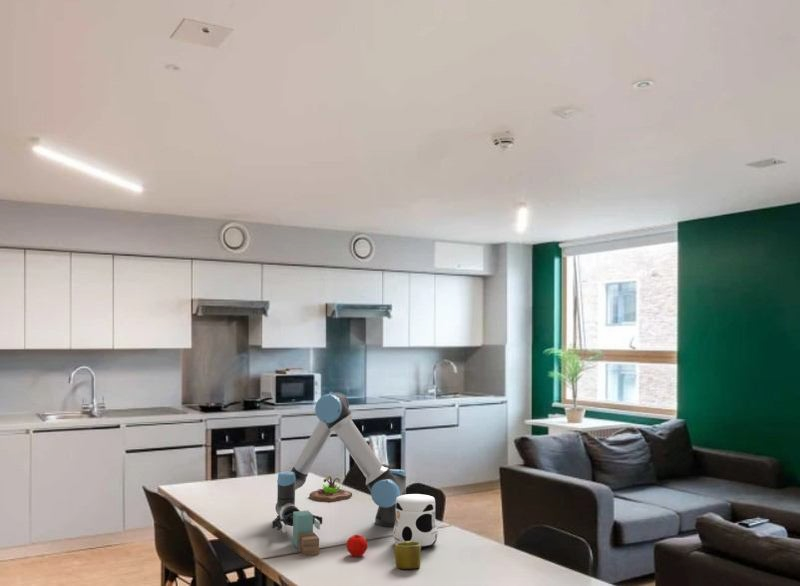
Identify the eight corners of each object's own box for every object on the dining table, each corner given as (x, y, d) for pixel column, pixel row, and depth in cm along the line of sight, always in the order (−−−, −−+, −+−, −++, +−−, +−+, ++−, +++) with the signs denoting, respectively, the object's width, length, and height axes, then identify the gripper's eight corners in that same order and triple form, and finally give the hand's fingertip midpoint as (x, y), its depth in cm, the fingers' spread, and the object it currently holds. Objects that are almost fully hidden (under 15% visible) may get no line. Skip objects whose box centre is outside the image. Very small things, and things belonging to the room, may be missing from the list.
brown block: (319, 554, 262) (319, 538, 262) (303, 556, 260) (303, 539, 260) (313, 547, 270) (313, 531, 271) (297, 549, 268) (297, 533, 268)
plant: (302, 498, 355) (302, 476, 355) (327, 492, 371) (327, 470, 371) (333, 504, 343) (333, 481, 344) (357, 497, 359) (357, 474, 360)
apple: (347, 552, 265) (347, 532, 265) (368, 552, 265) (368, 532, 265) (345, 558, 257) (345, 538, 257) (366, 559, 257) (366, 538, 257)
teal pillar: (312, 546, 271) (313, 515, 272) (297, 548, 269) (297, 516, 269) (307, 541, 278) (308, 510, 279) (292, 542, 276) (293, 511, 277)
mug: (422, 567, 242) (415, 537, 245) (394, 575, 243) (387, 545, 246) (430, 564, 253) (423, 535, 256) (403, 571, 255) (396, 542, 258)
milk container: (386, 541, 280) (387, 495, 281) (426, 537, 286) (426, 492, 287) (403, 553, 264) (403, 504, 265) (444, 548, 270) (444, 501, 271)
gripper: (319, 521, 297) (332, 534, 278) (260, 526, 289) (269, 540, 269) (319, 503, 298) (333, 514, 278) (260, 507, 289) (270, 520, 269)
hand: (302, 527), depth 273 cm, fingers open, 13 cm apart
